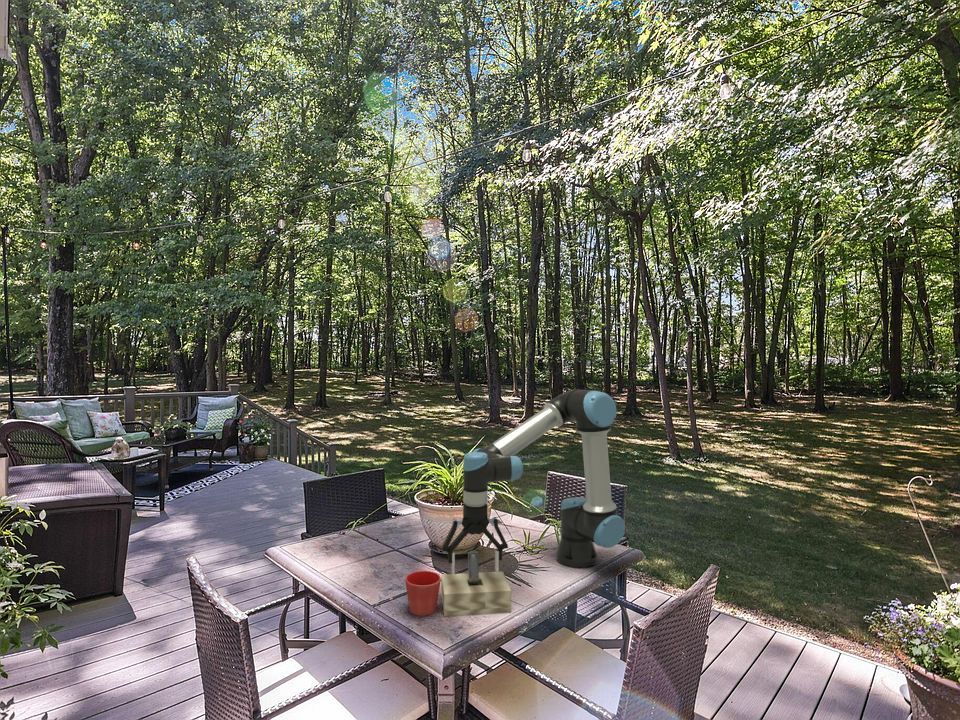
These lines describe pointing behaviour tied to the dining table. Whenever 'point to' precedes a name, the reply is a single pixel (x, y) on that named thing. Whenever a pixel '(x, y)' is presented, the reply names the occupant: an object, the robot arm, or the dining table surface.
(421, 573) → the flower pot
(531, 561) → the dining table surface
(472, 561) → the pin
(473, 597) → the block
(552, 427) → the robot arm
